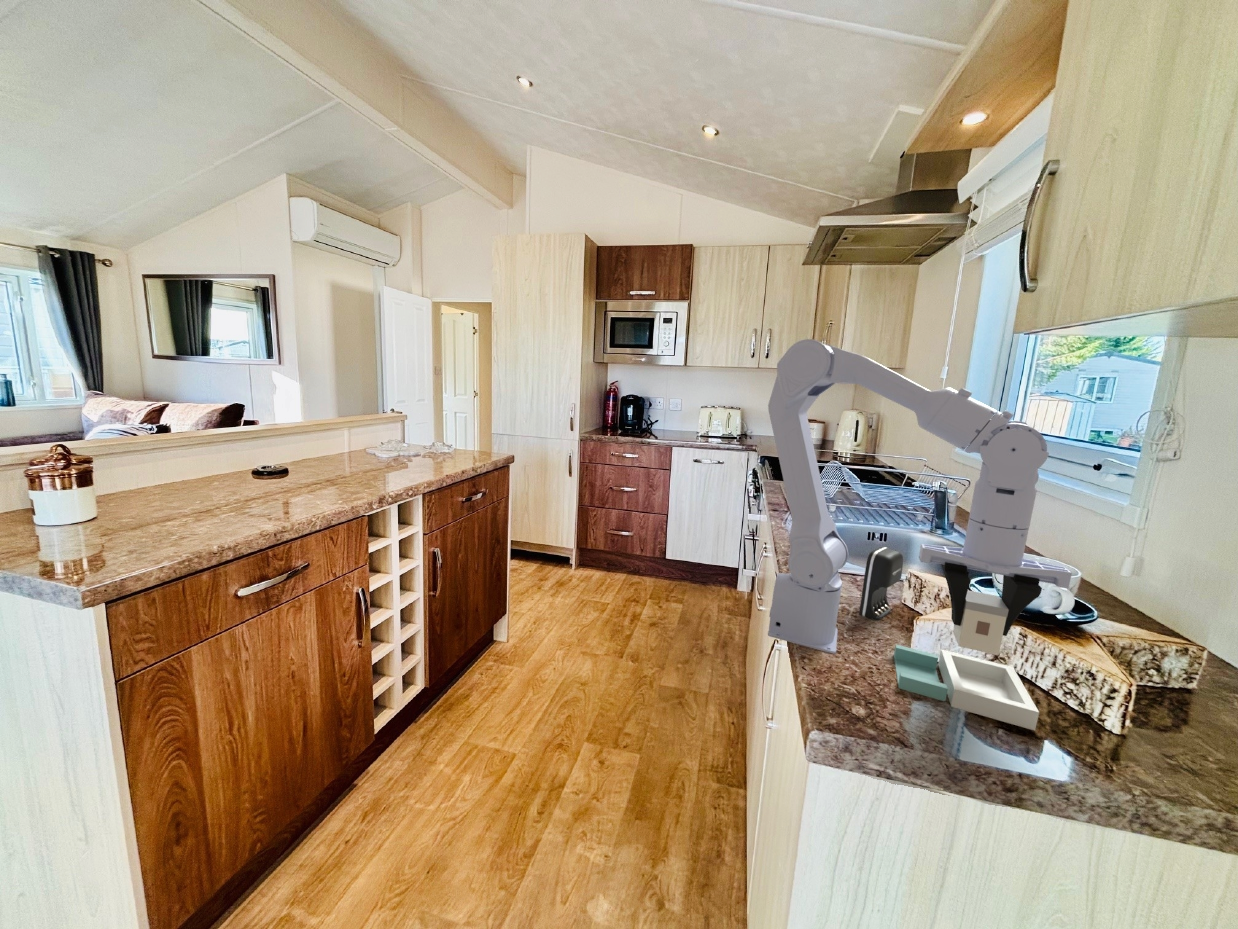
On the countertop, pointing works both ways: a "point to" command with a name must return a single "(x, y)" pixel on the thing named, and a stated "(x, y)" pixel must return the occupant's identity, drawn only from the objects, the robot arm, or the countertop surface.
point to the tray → (987, 689)
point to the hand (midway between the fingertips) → (977, 626)
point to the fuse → (982, 623)
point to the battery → (879, 581)
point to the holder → (918, 672)
